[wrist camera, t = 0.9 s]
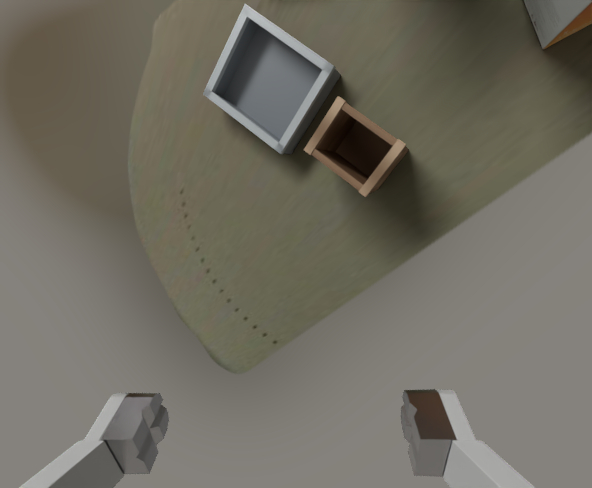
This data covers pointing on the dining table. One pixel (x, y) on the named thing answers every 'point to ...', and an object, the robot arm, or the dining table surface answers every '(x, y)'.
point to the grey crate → (270, 81)
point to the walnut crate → (355, 147)
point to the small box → (558, 18)
